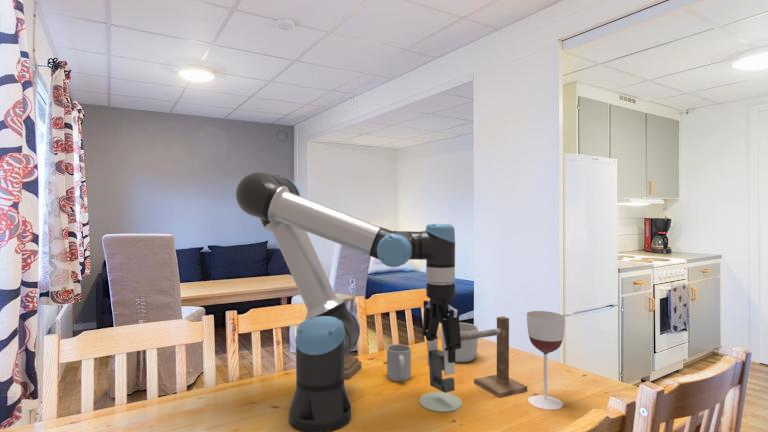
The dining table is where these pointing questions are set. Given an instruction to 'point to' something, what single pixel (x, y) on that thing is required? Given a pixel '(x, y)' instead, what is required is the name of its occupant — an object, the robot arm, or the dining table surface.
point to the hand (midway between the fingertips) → (440, 369)
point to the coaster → (440, 402)
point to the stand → (498, 361)
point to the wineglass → (545, 347)
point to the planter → (464, 344)
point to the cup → (399, 362)
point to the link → (439, 372)
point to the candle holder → (349, 362)
